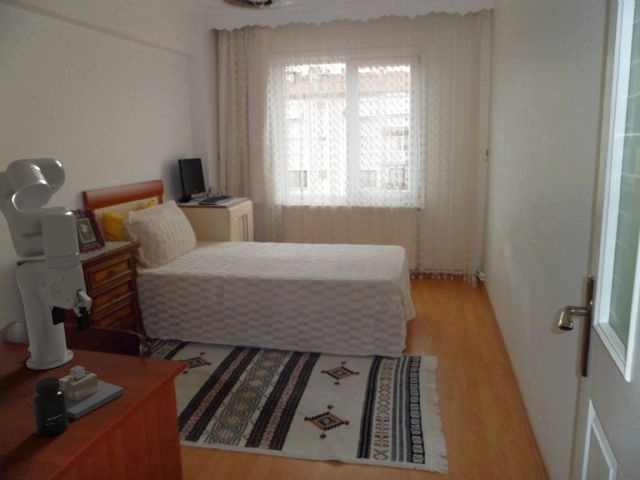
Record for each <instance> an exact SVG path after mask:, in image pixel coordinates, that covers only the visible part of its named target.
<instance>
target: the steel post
mask: <svg viewBox="0 0 640 480" xmlns="http://www.w3.org/2000/svg"><path fill="white" fill-rule="evenodd" d="M85 369H86V368H85V367H84V366H82V365H76V366H74V367H71V368H69V373H70V374H71V380H74V381H78V380H80V379H82V378H84V377H85V371H86V370H85ZM70 374H69V375H70Z"/></svg>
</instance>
